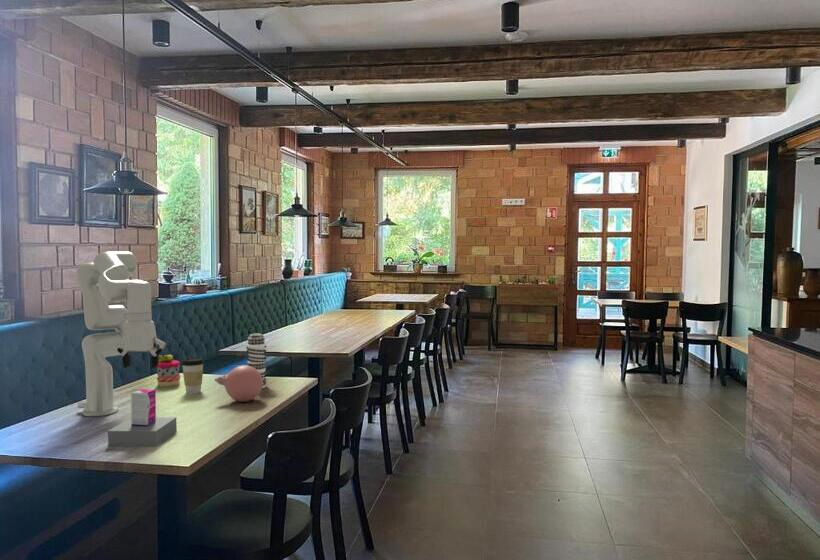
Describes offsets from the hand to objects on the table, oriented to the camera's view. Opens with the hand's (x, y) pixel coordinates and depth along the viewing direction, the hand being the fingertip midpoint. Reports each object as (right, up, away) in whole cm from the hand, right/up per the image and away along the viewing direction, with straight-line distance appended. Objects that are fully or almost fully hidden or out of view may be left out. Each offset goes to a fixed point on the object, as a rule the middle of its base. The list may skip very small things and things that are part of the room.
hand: (140, 367), depth 202 cm
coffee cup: (-6, -21, +66) cm, 70 cm away
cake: (-24, -21, +82) cm, 88 cm away
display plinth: (+1, -24, 0) cm, 24 cm away
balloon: (+19, -22, +50) cm, 58 cm away
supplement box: (+1, -20, 0) cm, 20 cm away
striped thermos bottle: (+20, -21, +77) cm, 82 cm away
